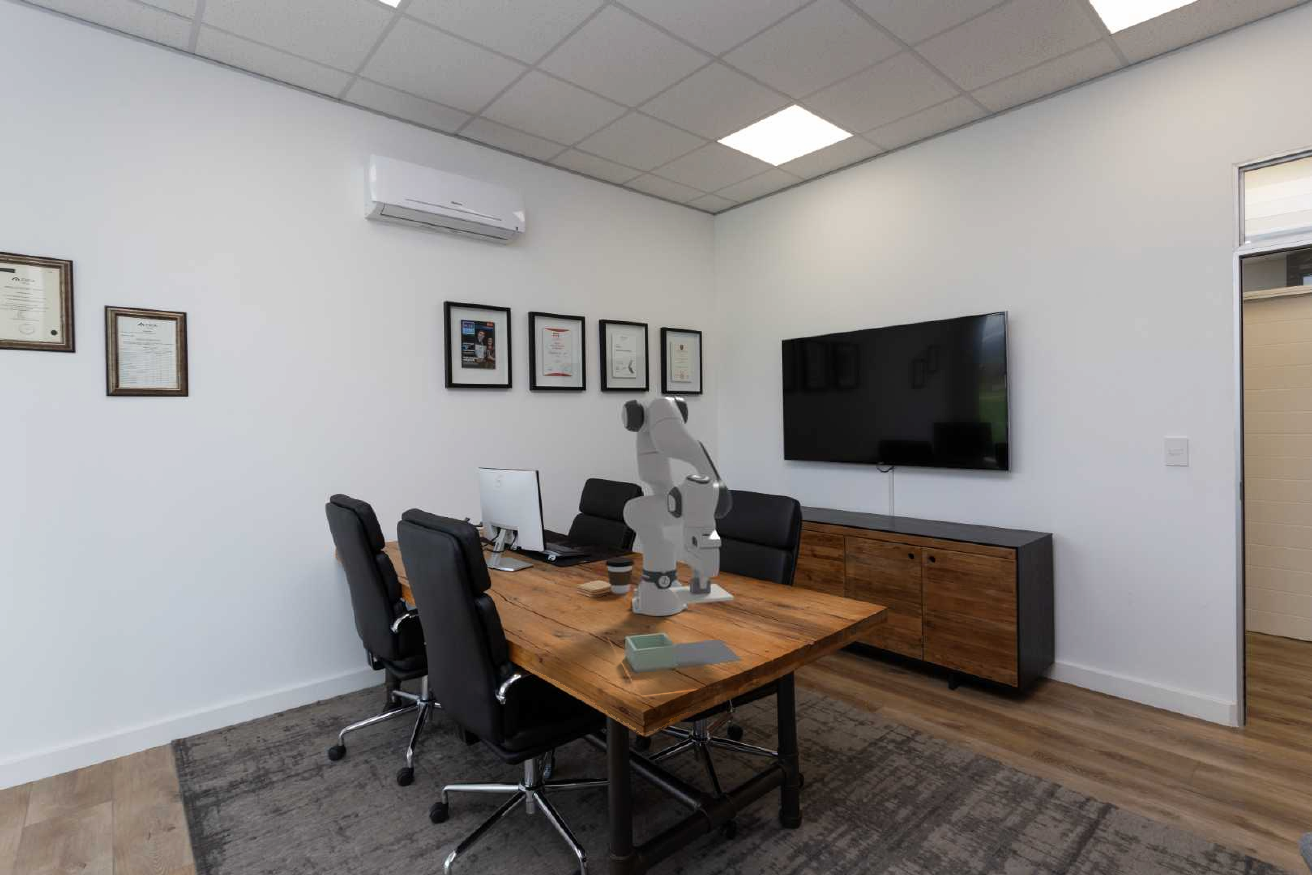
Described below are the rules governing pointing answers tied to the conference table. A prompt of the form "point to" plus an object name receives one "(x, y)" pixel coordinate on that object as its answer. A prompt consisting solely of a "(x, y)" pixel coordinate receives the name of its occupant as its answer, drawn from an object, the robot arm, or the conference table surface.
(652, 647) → the pale green open box
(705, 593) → the lid
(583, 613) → the conference table surface
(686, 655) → the mat
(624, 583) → the coffee cup
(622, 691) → the conference table surface
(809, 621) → the conference table surface
